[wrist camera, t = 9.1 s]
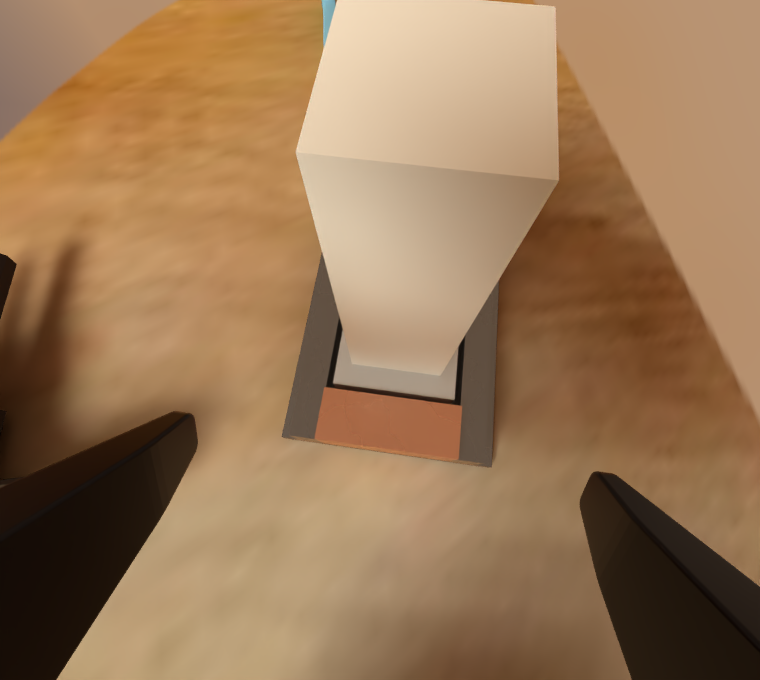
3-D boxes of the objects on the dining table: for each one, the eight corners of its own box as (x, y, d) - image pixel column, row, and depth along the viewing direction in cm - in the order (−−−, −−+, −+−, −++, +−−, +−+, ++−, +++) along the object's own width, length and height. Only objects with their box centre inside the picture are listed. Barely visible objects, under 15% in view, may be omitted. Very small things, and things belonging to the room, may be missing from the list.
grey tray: (488, 467, 18) (507, 466, 15) (284, 437, 19) (267, 431, 16) (500, 172, 24) (516, 131, 21) (345, 155, 25) (341, 113, 22)
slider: (446, 407, 18) (611, 243, 5) (337, 392, 19) (234, 199, 6) (455, 296, 20) (591, -25, 7) (356, 284, 21) (314, -47, 8)
